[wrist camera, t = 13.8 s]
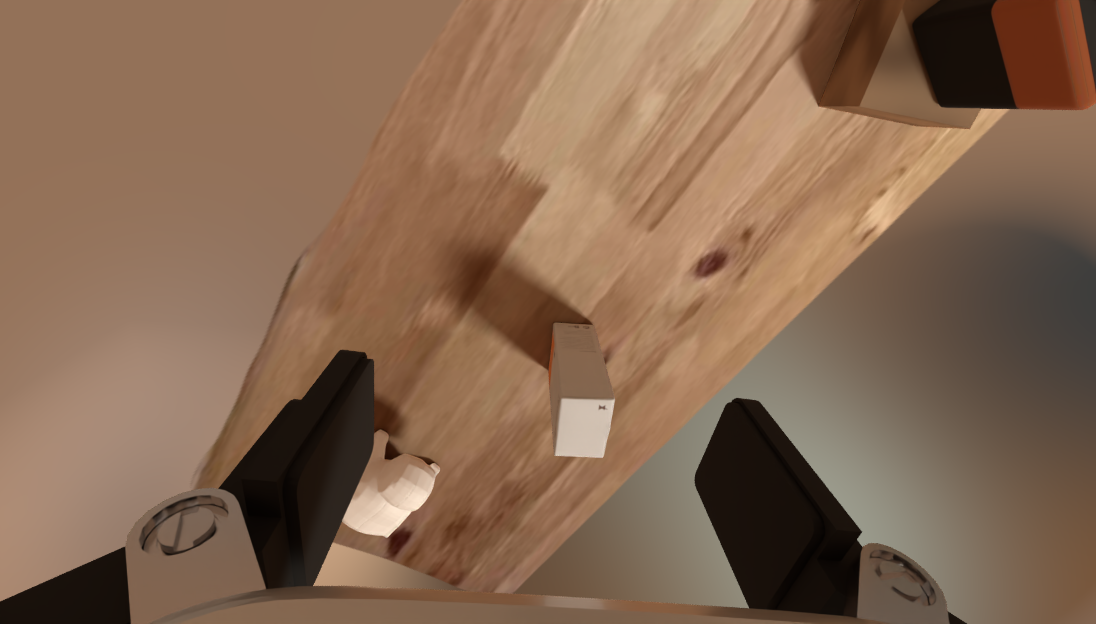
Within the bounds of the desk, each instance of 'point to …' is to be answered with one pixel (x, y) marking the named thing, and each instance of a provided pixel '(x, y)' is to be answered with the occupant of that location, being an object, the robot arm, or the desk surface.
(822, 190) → the desk surface
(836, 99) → the walnut block
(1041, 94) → the battery
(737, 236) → the desk surface
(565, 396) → the skincare box
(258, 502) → the robot arm
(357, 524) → the white rounded figurine
